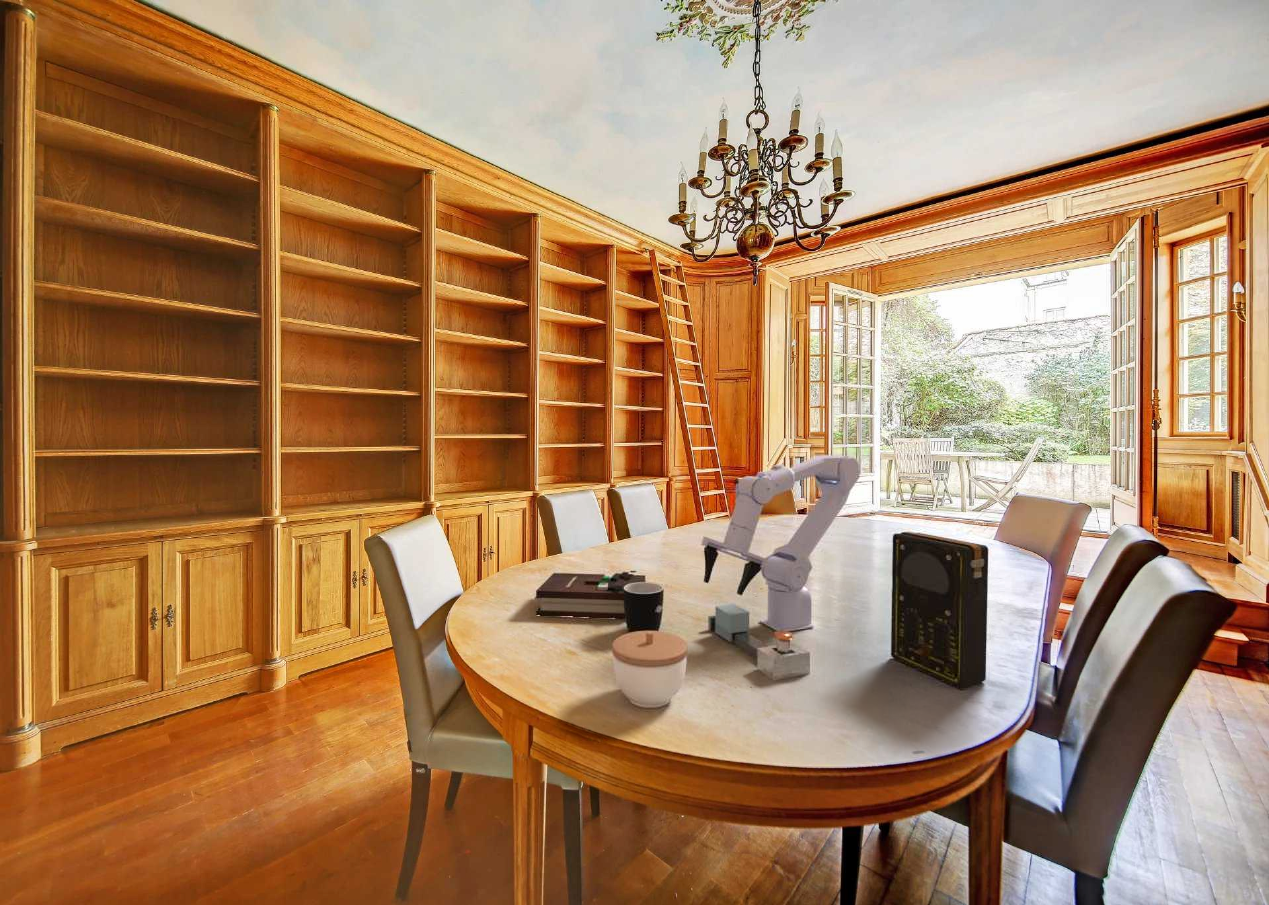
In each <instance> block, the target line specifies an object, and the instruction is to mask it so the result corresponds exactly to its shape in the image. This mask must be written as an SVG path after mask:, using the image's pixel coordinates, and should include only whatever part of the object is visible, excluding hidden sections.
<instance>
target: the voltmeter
mask: <svg viewBox="0 0 1269 905" xmlns="http://www.w3.org/2000/svg"><path fill="white" fill-rule="evenodd" d="M891 560H892V562H891V563H892V564H891V565H892V567H891V578H892V579H891V580H892V581H891V621H890V622H891V625H890V630H891V631H890V633H891V634H890V638H891V640H890V655H891V658H892V657H893V658H894V660H895V659H896V661H898V662H900V663H902V662H903V663H902V664H904V663H905V664H904V665H906V664H907V666H908V665H909V667H911V668H913V669H915V670H917V669H918V670H917V671H919V672H922V673H924V674H927V675H929V676H930V675H931V676H930V677H933V678H935V679H938V680H939V679H940V680H939V681H941V682H944V683H946V684H948V683H949V684H948V685H950V686H952V685H953V686H952V687H955V688H957V689H959V690H966V688H967V686H971V685H972V686H973V685H975V684H978V683H981V682H984V681H985V680H987V676H986V675H987V640H988V639H987V638H988V637H987V635H988V634H987V632H988V627H987V626H988V593H989V592H988V587H989V586H988V585H989V583H988V582H989V579H988V578H989V547H988V546H987V545H985V544H979V543H975V542H969V541H964V540H959V539H953V538H949V537H943V536H938V535H932V534H927V533H926V534H925V533H923V532H922V533H921V532H913V531H902V532H900V533H893V535H892V558H891Z"/></svg>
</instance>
